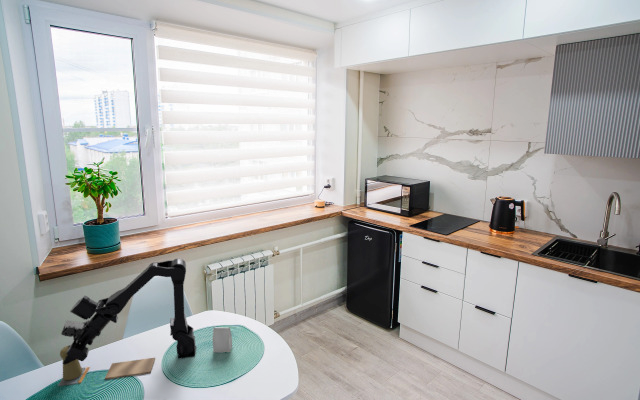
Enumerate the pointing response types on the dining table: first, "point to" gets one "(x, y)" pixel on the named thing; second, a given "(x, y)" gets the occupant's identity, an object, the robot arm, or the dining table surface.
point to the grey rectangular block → (222, 339)
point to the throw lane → (118, 370)
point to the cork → (70, 366)
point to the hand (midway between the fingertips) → (65, 359)
